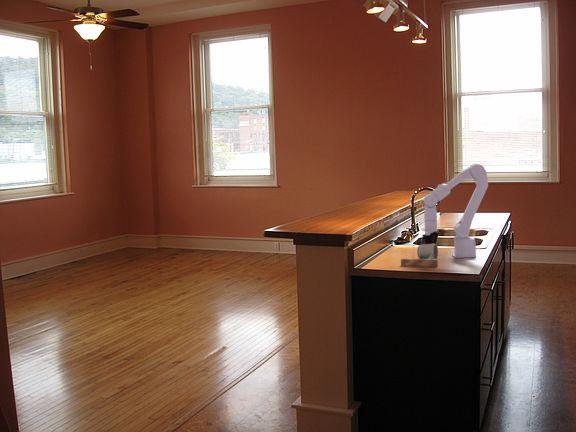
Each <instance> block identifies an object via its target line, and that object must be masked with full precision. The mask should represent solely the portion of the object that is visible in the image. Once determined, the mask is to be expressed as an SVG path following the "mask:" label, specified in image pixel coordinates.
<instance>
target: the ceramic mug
mask: <svg viewBox="0 0 576 432" xmlns="http://www.w3.org/2000/svg"><path fill="white" fill-rule="evenodd" d="M416 250H417V253H416V254H417V257H418V258H417V259H438V256H439V247H438V245H437V243H436V244H426V243H423V244H419V245H418V246H417V249H416Z"/></svg>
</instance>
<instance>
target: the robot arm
mask: <svg viewBox="0 0 576 432" xmlns="http://www.w3.org/2000/svg"><path fill="white" fill-rule="evenodd" d="M467 179H473V180H474V183H475V185H476V187H475V188H474V191H473V193H472V196H471V197H470V200H469V201H468V204H467V206H466V208H465V210H464V212H463V215H462V216H461V218H460V219H459V222H457V223H456V224H455V225H454V227H453V230H454V233H455V236H454V237H453V240H454V241H453V244H454V245H453V246H454V253H453V254H451V256H452V257H454V258H456V259H459V258H463V259H464V258H477V252H476V251H477V247H476V239H475V238H474V237H471V236H470V233H471V232H470V231H471V226H472V222H473V220H474V218H475V215H476V213H477V212H478V209H479V207H480V205H481V202H482V200H483V198H484V196H485V194H486V192H487V190H488V187H489V181H488V172H487V170H486V169H485V166H483V165H482V164H480V163H479V164H478V163H473V164H471V165H470V166H468V167H467V168H466V167H465V169H463V170H461V171H460V172H459V173H458V174H456V175H455V176H454V177H453V178H451V179H450V180H449V181H448V182H446V183H441V184H438V185H437V187H436V188H434V189H433V190H432V191H429V194H426V195H425V196H424V198H423V203H424V207H423V208H424V213H423V214H424V218H423V219H424V220H423V221H424V228H422V229H421V230H422V231H423V232H424V234H422V235H421V236H422V238H423V240H424V244H436V245H437V243H438V238H439V235H440V232H439V231H438V216H437V215H438V213H437V212H438V211H437V203H438V202H440V201H442V200H443V199H444V198H445V197H447V196H449V195H450V194H451V189H453V188H454V187H456V186H457V185H459V183H461V182H463V181H464V180H467Z"/></svg>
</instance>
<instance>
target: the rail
mask: <svg viewBox="0 0 576 432" xmlns="http://www.w3.org/2000/svg"><path fill="white" fill-rule="evenodd" d="M400 266H403V267H426V268H427V267H429V268H431V267H432V268H435V267H436V268H437V267H439V260H438V258H437V259H419V258H405V257H404V258H403V257H402V258H401V259H400Z"/></svg>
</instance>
